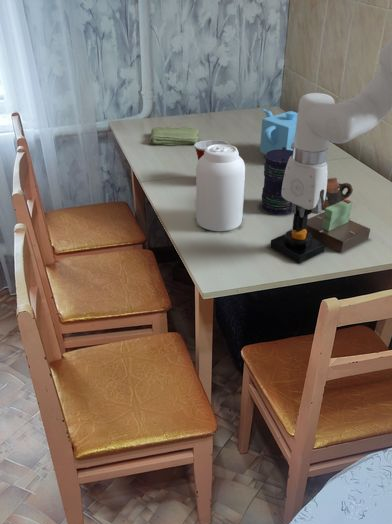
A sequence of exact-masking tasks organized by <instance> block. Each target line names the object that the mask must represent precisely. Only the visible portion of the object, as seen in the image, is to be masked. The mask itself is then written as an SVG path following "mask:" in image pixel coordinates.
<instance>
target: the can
mask: <svg viewBox="0 0 392 524" xmlns="http://www.w3.org/2000/svg"><path fill="white" fill-rule="evenodd" d="M195 171H196V173H195V175H196V176H195V177H196V178H195V179H196V181H195V182H196V183H195V185H196V187H195V188H196V189H195V190H196V193H195V195H196V196H195V201H196V202H195V213H196V214H195V219H196V222H197V224H198V225H199V226H200V227H201V228H203V229H205V230H208V231H212V232H227V231H230V230H231V231H232V230H234V229H236V228H238V227H239V226H240V225H241V224H242V222H243V212H244V198H245V197H244V196H245V195H244V194H245V183H246V182H245V181H246V180H245V178H246V164H245V161H244V159H243V158H242V157H241V156H240V155H239V150H238V148H237V147H236V146H234V145H232V144H230V145H227V144H215V145H210V146H208V147H206V149H205V151H204V155H203V156H202V157H201V158H200V159H199V161H198V160H197V164H196V168H195Z"/></svg>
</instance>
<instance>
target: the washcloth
mask: <svg viewBox="0 0 392 524" xmlns="http://www.w3.org/2000/svg"><path fill="white" fill-rule="evenodd" d="M150 133H151V135H150V137H149V143H150V144H152V145H159V146H160V145H162V146H163V145H164V146H189V145H190V146H191V145H194V144H195V143H197V142H199V141H198V140H199V137H200V135H199V128H197V127H191V126H190V127H189V126H174V127H173V126H172V127H171V126H156V127H153V128H151V132H150Z"/></svg>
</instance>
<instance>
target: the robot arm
mask: <svg viewBox="0 0 392 524" xmlns="http://www.w3.org/2000/svg"><path fill="white" fill-rule="evenodd" d="M378 60H379V65H380V67H379V69H378V71H377V72H376V74H375V75H374V76H373V78H372V79H371V80H370V81H369V82H368V84H367V85H365V87H364V88H363V89H362V90H361V91H360V92H359V93H358V94H357V95H356V96H353V97H352V98H349V99H347V100H345V101H344V100H343V101H342V102H337V103H336V101H335V99H334V98H333V96H331V95H330V94H326V93H322V92H309V93H306V94H304V95H302V96H301V97H300V99H299V101H298V108H297V113H298V115H297V123H296V131H295V139H294V143H292V145H291V149H293V156H290V158H289V160H288V163H287V166H286V170H285V174H284V179H283V184H282V192H281V194H282V197H283V198H284V199H285V200H286V201H288V202H289V203H290V205H291V207H292V213H291V214H293V219H292V228H291V230H292V229H293V230H296V231H297V232H299V231H301V230H303V229H305V228H306V225H307V219H309V216H310V215H311V214H313V215H318V214H321V213H322V212H323V211H322V210H323V209H322V205H323V204H324V201H325V200H326V197H327V196H326V190H327V179H328V177H329V176H328V171H329V170H328V163H327V162H326V161H327V157H328V151H329V144H330V143H332V144H336V145H341V144H342V145H343V144H345V143H347V142H350V141H352V140H354V139H356V138H357V137H360V136H361V135H363V134H366V133H368V132H370V131H371V130H372V129H373V130H374V128H375V127H376V126H377V125H379V123H381V121H383V120H384V119H385V118H386V117H387V115H389V114H390V113H391V112H392V37H391V38H390V39H389V40H388V42H387V43H386V44H385V45H384V46H383V47H382V48H381V50H380V52H379V58H378Z"/></svg>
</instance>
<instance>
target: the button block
mask: <svg viewBox="0 0 392 524" xmlns="http://www.w3.org/2000/svg"><path fill="white" fill-rule="evenodd" d="M291 235H292V229H290V230H288V231H286V233H284V234H282V235H279V236H277V237H275V238H272V239H271V240H270V245H269V248H270V249H272V250H274V251H275V252H277V253H279V254H281V255H283V256H285V257H286V258H289V259H290V260H292V261H294V262H296V263H298V264H302V263H303V262H307V261H309V260H310V259H313V258H315V257H316V256H318V255H321V254H323V253H324V252H325V248H326V245H325V244H324V243H322V242H320V241H318V240H316V239H314V238H312V235H311V233H309V232H307V234H306V238H305V239H303V240H298V239H294V238H292V237H291Z"/></svg>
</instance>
